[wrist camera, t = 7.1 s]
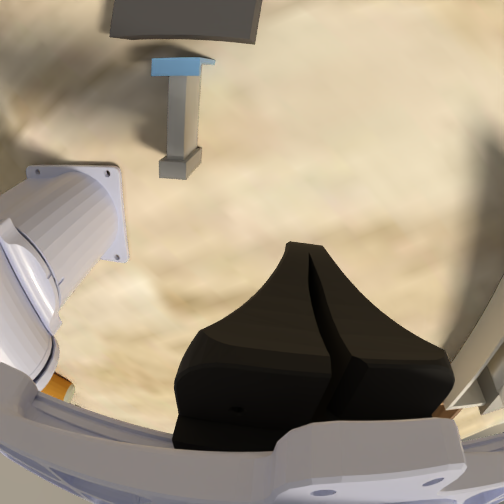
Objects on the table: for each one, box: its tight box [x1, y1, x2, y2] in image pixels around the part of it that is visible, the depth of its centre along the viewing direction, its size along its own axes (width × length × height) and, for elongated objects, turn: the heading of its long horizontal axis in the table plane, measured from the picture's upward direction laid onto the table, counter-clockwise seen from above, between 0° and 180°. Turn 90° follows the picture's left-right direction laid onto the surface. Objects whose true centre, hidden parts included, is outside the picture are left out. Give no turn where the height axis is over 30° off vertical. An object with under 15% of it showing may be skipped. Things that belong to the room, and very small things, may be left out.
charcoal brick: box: [110, 0, 262, 44], centre depth 14 cm, size 8×3×3 cm, turn 82°
